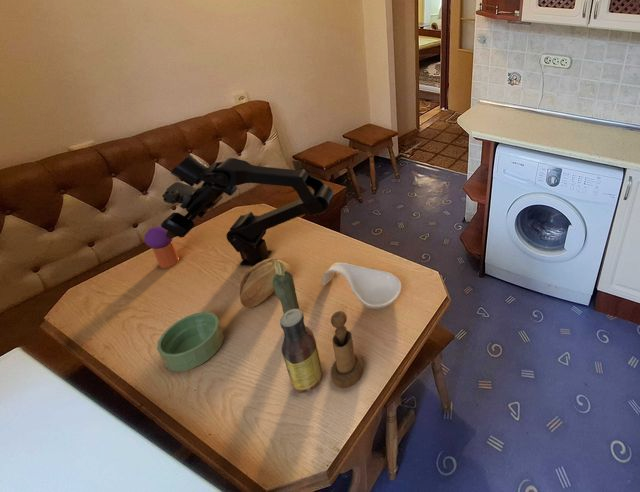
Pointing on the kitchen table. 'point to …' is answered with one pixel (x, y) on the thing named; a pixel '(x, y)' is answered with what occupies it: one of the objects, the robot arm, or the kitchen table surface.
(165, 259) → the stand
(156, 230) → the plum
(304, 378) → the sauce bottle
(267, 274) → the bread roll
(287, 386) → the kitchen table surface
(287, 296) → the vegetable
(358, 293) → the spoon rest
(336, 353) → the mortar and pestle
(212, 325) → the bowl
